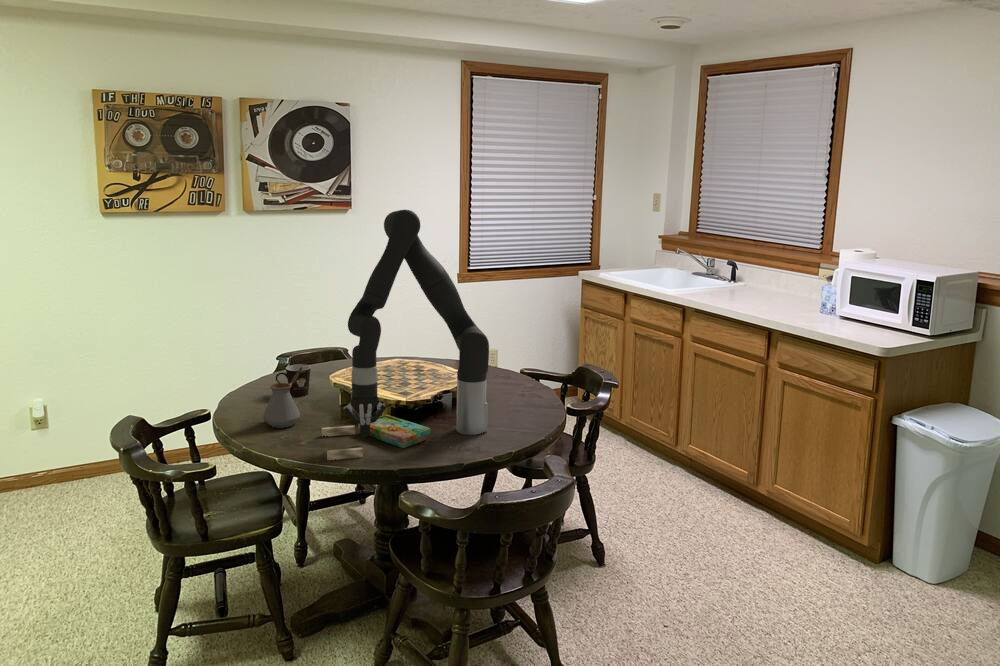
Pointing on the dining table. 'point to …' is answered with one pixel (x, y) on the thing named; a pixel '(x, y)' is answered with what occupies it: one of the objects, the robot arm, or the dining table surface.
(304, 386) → the coffee mug
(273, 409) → the coffee pot
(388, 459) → the dining table surface
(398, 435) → the puzzle game
